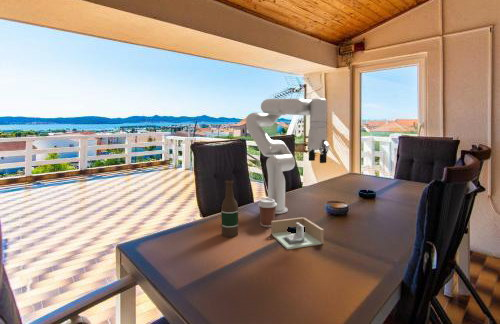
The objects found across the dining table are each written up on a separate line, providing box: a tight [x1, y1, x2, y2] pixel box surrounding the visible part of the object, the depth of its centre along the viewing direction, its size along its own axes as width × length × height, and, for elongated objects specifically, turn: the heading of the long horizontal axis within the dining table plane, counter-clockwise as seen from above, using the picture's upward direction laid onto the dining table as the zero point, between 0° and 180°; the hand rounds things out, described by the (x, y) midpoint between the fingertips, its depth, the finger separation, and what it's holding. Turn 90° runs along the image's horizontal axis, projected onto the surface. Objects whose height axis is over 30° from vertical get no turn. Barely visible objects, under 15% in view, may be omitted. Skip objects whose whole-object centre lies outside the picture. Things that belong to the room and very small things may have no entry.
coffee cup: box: [257, 198, 277, 228], centre depth 129 cm, size 9×9×12 cm
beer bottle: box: [220, 179, 239, 238], centre depth 117 cm, size 8×8×24 cm
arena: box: [270, 216, 325, 250], centre depth 112 cm, size 16×16×6 cm
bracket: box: [285, 223, 304, 243], centre depth 109 cm, size 6×5×6 cm
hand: (317, 161), depth 127 cm, fingers open, 9 cm apart
